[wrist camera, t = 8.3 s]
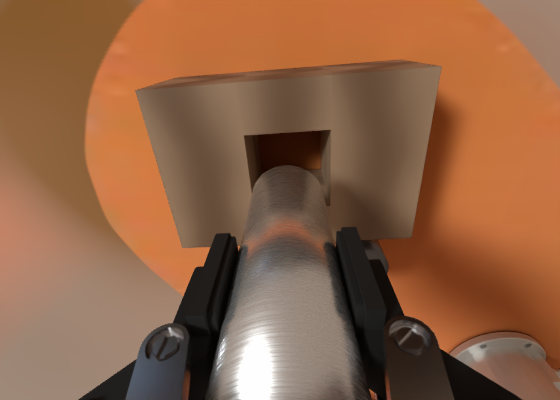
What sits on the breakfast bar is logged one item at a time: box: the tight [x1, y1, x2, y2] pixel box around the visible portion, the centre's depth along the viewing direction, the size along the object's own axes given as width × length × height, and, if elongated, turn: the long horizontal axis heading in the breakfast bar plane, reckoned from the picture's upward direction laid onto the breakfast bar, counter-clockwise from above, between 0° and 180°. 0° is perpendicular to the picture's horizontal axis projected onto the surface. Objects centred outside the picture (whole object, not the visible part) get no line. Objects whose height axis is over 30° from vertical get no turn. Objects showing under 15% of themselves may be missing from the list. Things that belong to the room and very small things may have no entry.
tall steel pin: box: [205, 165, 371, 400], centre depth 11 cm, size 4×4×12 cm
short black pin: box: [335, 239, 389, 273], centre depth 28 cm, size 4×4×6 cm
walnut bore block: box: [135, 60, 442, 248], centre depth 23 cm, size 18×12×7 cm, turn 94°
